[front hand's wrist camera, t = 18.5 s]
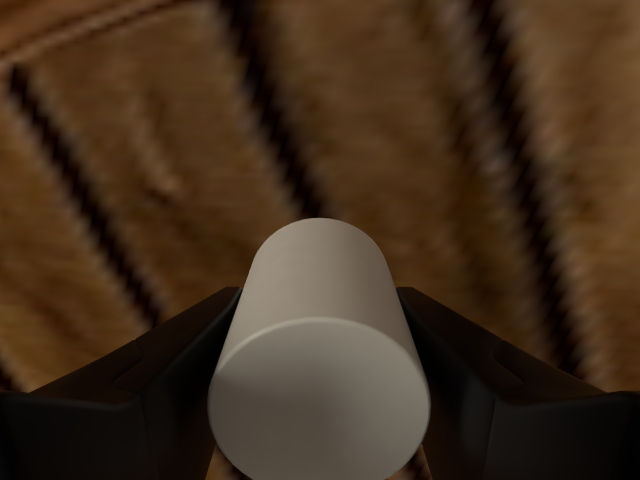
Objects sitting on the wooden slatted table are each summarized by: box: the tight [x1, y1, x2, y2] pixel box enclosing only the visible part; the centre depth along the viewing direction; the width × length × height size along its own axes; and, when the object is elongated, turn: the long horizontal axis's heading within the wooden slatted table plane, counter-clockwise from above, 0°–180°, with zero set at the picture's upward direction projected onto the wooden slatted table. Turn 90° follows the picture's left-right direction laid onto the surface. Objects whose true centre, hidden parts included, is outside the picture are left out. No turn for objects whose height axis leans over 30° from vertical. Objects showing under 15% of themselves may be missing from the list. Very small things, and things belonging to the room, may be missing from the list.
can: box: [207, 218, 431, 480], centre depth 10 cm, size 4×4×5 cm
